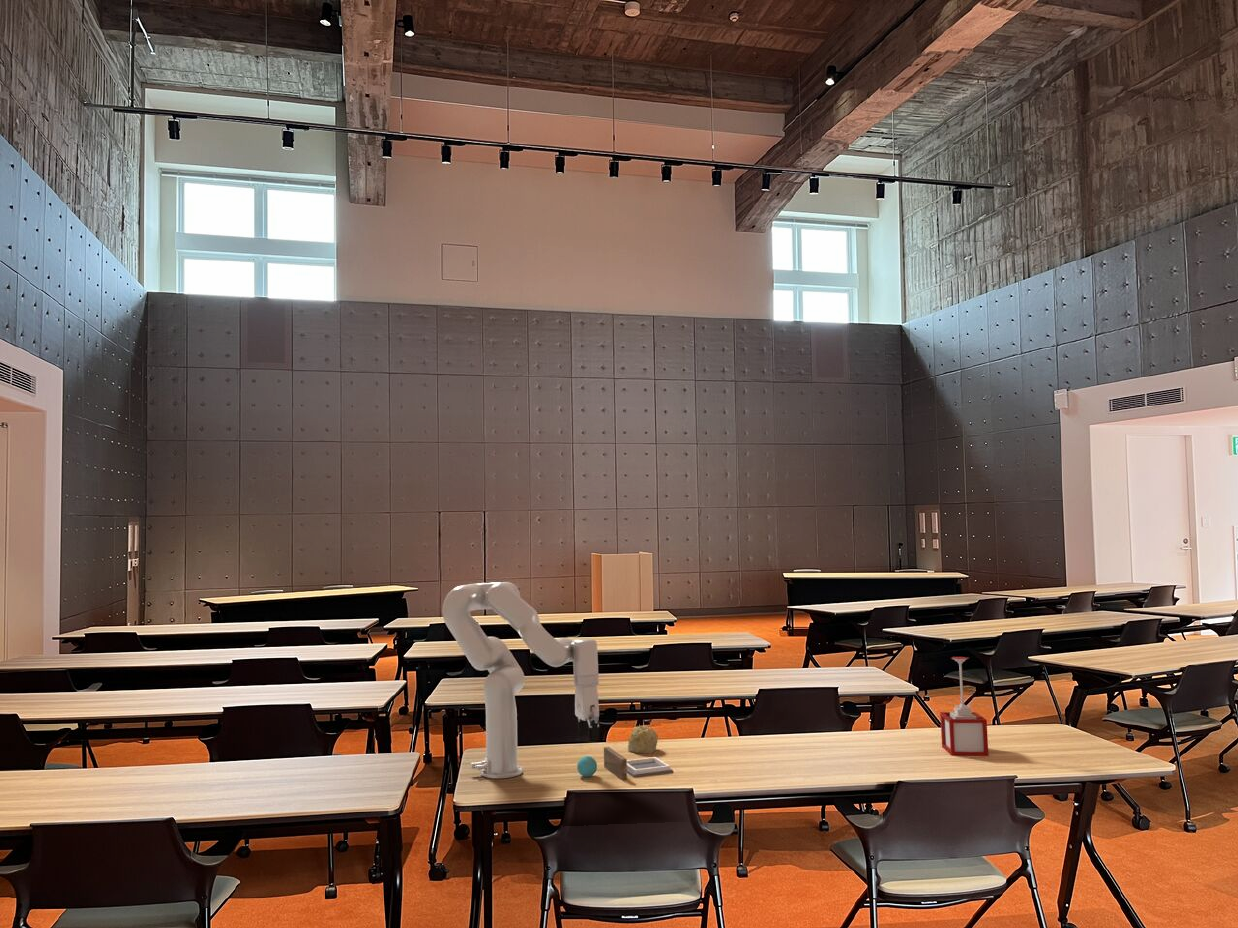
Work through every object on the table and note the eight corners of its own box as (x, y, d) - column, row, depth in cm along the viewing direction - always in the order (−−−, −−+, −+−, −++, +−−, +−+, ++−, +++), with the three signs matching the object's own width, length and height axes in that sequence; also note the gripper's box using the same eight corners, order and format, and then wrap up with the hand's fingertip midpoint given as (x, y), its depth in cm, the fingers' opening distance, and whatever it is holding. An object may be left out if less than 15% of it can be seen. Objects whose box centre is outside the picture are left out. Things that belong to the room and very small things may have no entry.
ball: (580, 780, 251) (580, 759, 252) (574, 775, 257) (574, 754, 257) (599, 777, 253) (599, 757, 254) (593, 772, 259) (593, 752, 259)
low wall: (621, 780, 250) (621, 759, 251) (604, 766, 265) (603, 747, 266) (626, 779, 251) (626, 758, 251) (608, 766, 266) (608, 746, 266)
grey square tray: (633, 777, 253) (633, 770, 253) (618, 766, 265) (618, 760, 265) (673, 772, 258) (673, 766, 258) (656, 761, 270) (656, 756, 270)
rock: (649, 756, 290) (637, 729, 294) (668, 744, 283) (655, 716, 287) (628, 764, 283) (616, 736, 287) (647, 752, 276) (635, 723, 280)
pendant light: (977, 747, 281) (972, 655, 283) (988, 755, 269) (983, 660, 272) (942, 746, 282) (937, 655, 284) (951, 755, 271) (946, 660, 273)
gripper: (566, 677, 264) (568, 733, 262) (583, 685, 248) (586, 745, 246) (589, 675, 267) (591, 730, 265) (607, 682, 250) (610, 742, 249)
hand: (589, 737), depth 256 cm, fingers open, 9 cm apart
